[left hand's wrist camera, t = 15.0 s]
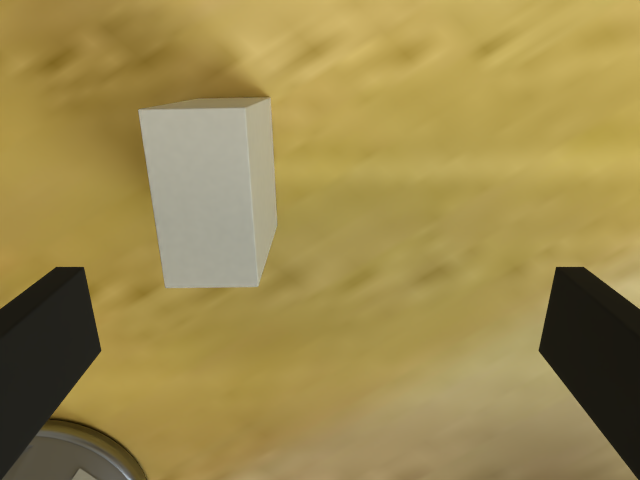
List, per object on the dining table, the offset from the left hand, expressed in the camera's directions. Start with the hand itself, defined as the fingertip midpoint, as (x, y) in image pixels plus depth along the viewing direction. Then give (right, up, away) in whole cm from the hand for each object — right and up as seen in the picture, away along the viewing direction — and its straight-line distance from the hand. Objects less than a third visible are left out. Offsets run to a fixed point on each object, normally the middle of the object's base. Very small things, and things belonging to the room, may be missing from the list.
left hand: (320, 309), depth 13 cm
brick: (-5, +7, +17) cm, 19 cm away
